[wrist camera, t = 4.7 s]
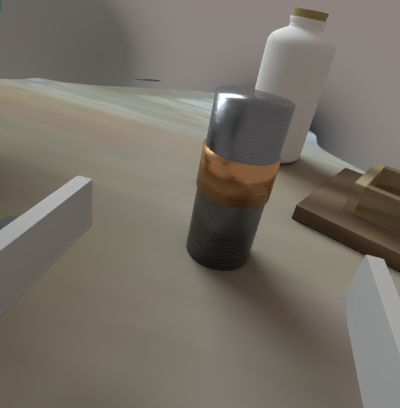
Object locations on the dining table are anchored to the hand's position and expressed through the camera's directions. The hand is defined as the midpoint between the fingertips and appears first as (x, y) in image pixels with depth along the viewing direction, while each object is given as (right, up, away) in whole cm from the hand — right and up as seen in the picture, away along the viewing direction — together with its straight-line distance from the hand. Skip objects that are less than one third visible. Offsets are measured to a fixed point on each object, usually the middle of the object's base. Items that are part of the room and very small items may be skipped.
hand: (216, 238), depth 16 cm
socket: (+19, -1, +19) cm, 27 cm away
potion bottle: (+9, +9, +32) cm, 35 cm away
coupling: (+1, -2, +11) cm, 11 cm away
